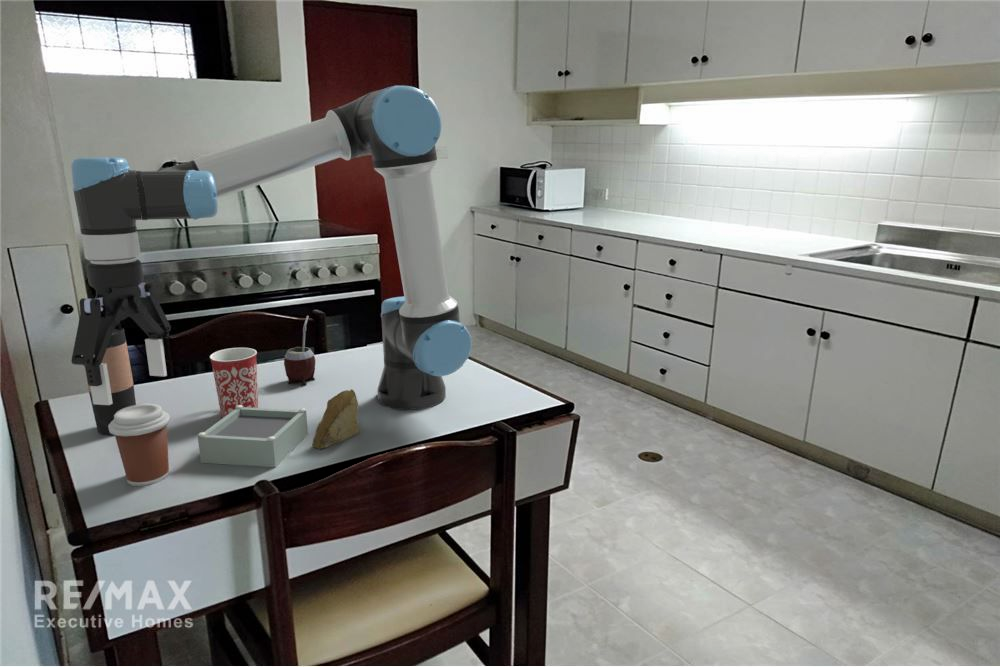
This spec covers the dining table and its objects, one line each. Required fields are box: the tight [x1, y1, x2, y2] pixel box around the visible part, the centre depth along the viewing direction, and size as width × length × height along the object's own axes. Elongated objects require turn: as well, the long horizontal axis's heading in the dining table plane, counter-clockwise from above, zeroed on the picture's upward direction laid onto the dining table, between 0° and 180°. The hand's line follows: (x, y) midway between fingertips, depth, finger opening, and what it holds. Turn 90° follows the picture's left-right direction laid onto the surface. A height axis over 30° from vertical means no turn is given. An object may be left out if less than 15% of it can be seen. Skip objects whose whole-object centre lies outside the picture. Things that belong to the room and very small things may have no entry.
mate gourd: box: [283, 315, 316, 387], centre depth 156 cm, size 8×8×15 cm
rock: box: [311, 389, 360, 450], centre depth 126 cm, size 11×9×10 cm
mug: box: [209, 347, 259, 419], centre depth 138 cm, size 13×9×14 cm
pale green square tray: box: [197, 405, 309, 468], centre depth 122 cm, size 14×14×5 cm
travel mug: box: [84, 328, 137, 436], centre depth 129 cm, size 8×8×20 cm
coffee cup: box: [108, 403, 171, 487], centre depth 111 cm, size 9×9×12 cm
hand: (132, 389), depth 108 cm, fingers open, 13 cm apart
